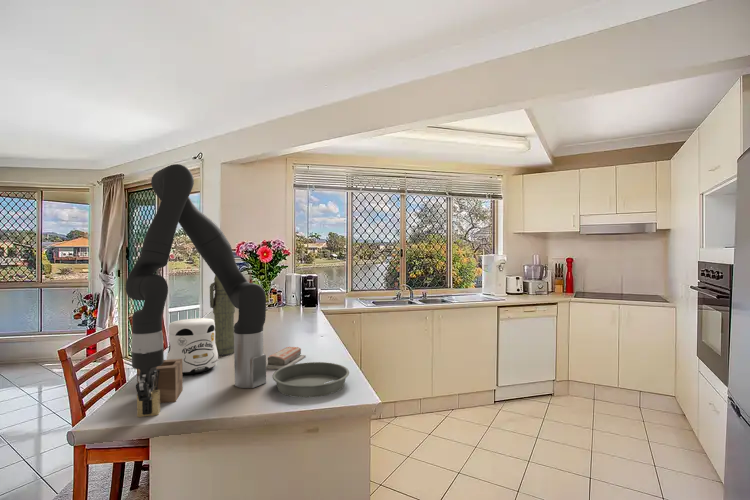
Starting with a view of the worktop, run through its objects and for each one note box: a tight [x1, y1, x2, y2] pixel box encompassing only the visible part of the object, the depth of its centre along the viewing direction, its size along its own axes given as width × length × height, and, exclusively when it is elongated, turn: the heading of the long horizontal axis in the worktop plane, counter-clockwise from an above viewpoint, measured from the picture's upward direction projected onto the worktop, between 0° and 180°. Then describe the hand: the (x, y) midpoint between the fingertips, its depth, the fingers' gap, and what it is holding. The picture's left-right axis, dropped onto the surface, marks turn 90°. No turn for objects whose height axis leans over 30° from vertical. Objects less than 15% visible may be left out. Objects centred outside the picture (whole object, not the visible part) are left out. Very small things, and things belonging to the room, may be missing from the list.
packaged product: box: [266, 346, 307, 370], centre depth 160 cm, size 18×5×10 cm
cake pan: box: [271, 361, 350, 398], centre depth 133 cm, size 25×25×4 cm
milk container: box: [165, 317, 219, 375], centre depth 151 cm, size 17×17×18 cm
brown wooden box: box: [136, 359, 184, 404], centre depth 123 cm, size 10×10×10 cm
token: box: [136, 390, 161, 418], centre depth 111 cm, size 2×5×6 cm, turn 105°
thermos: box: [209, 274, 236, 357], centre depth 175 cm, size 9×12×35 cm
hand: (148, 411), depth 111 cm, fingers closed on token, 2 cm apart
